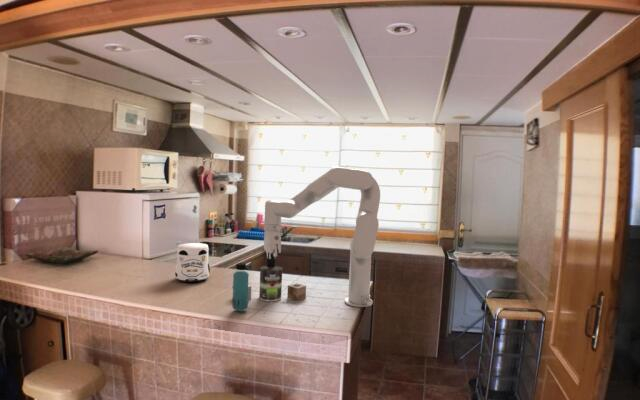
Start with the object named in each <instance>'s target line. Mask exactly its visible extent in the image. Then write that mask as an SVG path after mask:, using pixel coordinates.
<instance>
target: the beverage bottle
mask: <svg viewBox="0 0 640 400" xmlns="http://www.w3.org/2000/svg"><path fill="white" fill-rule="evenodd" d="M235 270H236V271H235V272H234V273H233V279H232V300H231V302H232V309H233V310H236V311H244V310H247V309H248V306H249V300H248V283H249V275H250V274H249V273H248V272H247V271H246V270H247V264H246V263H244V262H238V263H236V265H235Z"/></svg>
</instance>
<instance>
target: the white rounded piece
mask: <svg viewBox="0 0 640 400" xmlns="http://www.w3.org/2000/svg"><path fill="white" fill-rule="evenodd" d="M209 250H210V248H209V245H208V244H207V243H201V242H199V243H197V242H191V243H190V242H189V243H187V242H186V243H181V244H178V245H177V246H176V252H177V253H176V266H175V269H174V276H175V278H176V279H177V280H178V281H180V282H184V283H195V282H201V281H205V280H206V279H208V278H209V276H210V273H211V268H210V264H209Z"/></svg>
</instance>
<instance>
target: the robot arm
mask: <svg viewBox="0 0 640 400" xmlns="http://www.w3.org/2000/svg"><path fill="white" fill-rule="evenodd" d="M338 188H342V189H343V188H344V189H351V190H357V191H358V190H359V191H360V193H361V195H360V197H361V198H360V202H359V207H358V211H357V212H358V213H357V216H356V219H355V229H354V233H353V237H352V238H351V241H350V243H349V244H350V245H349V247H350V248H349V253H350V254H349V257H350V258H349V274H348V295H347V296H346V297H345V298H344V303H345V304H346V305H347V306H351V307H354V308H355V307H356V308H367V307H370V306H372V305H373V303H374V300H372V298H371V295H370V293H371V292H370V291H371V289H370V287H371V274H372V273H371V270H372V254H373V253H374V249H375V246H376V245H375V244H376V240H377V237H378V236H377V235H378V232H379V224H380V223H379V218H378V213H379V208H380V204H381V203H380V201H381V189H380V185H379V183H378V182H377V180H376V179H375V178H374V176H373V175H372V173H371V172H369V171H367V170H363V169H354V168H346V167H342V166H333V167H332V168H330V169H329V170H327V171H326V172H325V173H324V174H322V175H321V176H319V177H318V178H316V179H315V180H313V181H312V182H310V183H309V184H308V185H307V186H306V187H305V188H304V189H303V190H302V191H301V192H299V193H297V194H296V195H295V196H293V197H292V198H290V199H289V200H287V201H280V200H273V199H272V200H271V199H270V200H266V201H265V203H264V204H265V205H264V221H263V222H264V223H263V225H264V227H263V231H264V234H263V235H264V236H263V237H264V238H263V249H264V251H265V253H266V266H267V267H268V268H274V267H275V266H276V257H277V258H278V254H281V252H282V237H281V229H282V218H286V219H292V218H295V217H296V215H298V214H299V213H301V212H302V211H303V210H305V209H306V208H308V207H310V206H311V205H313V204H314V203H316V202H319V201H321V200H322V199H323V198H325V197H326V196H328V195H329V194H330V193H332V192H334V191H335V190H336V189H338Z"/></svg>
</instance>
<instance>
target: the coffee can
mask: <svg viewBox="0 0 640 400" xmlns="http://www.w3.org/2000/svg"><path fill="white" fill-rule="evenodd" d="M283 269H284V268H283V267H282V266H278V265H275V267H274V268H268V267H267V265H262V266H260V267H259V295H258V296H259V297H258V298H259V300H260V301H264V302H277V301H280V300H281V299H282V289H283V288H282V287H283V286H282V284H283V281H282V280H283Z"/></svg>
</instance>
